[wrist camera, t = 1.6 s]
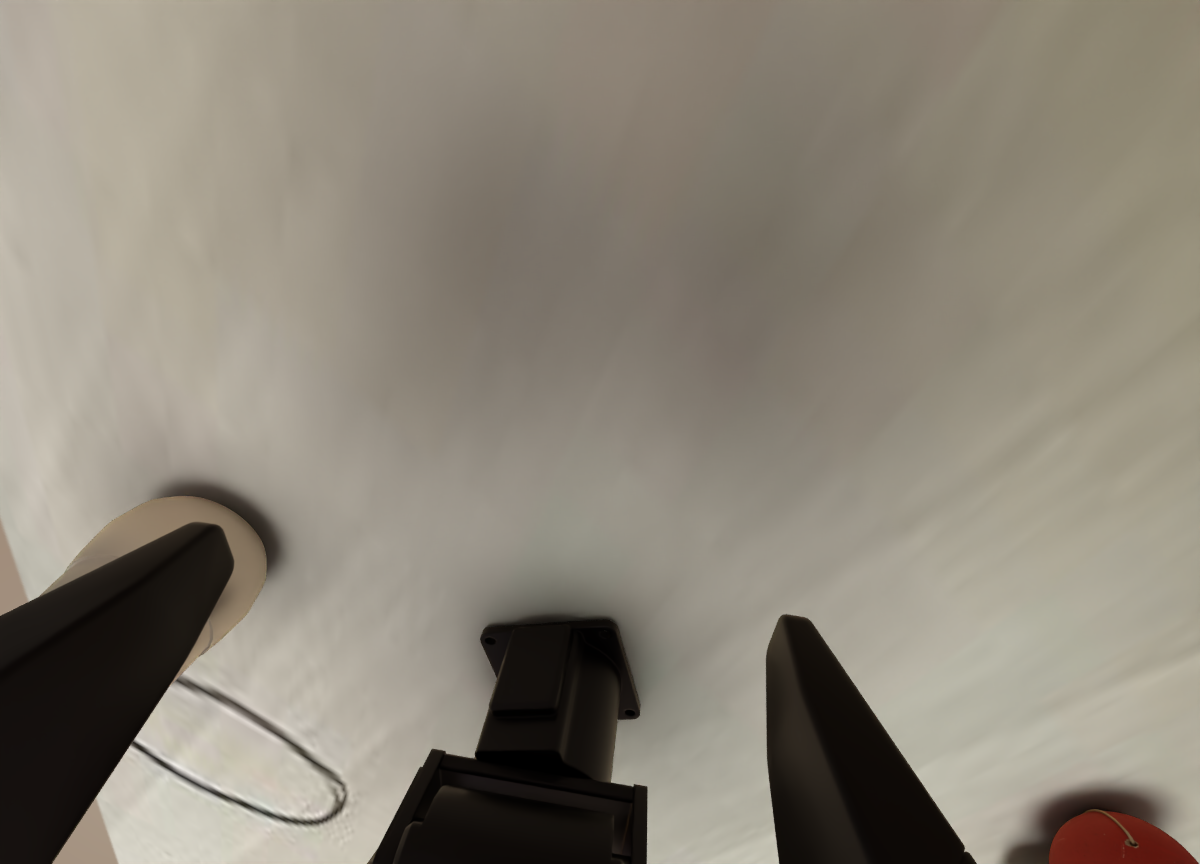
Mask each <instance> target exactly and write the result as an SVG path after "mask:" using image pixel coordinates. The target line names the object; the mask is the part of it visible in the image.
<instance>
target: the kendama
mask: <svg viewBox="0 0 1200 864" xmlns="http://www.w3.org/2000/svg"><path fill="white" fill-rule="evenodd" d="M1049 864H1199V863H1198V862H1197V861H1196V860H1195V859H1194V857H1193V856H1192V855H1191V854H1190V853H1189V852H1188V851H1187V850H1186V849H1185V848H1184V847H1183V846H1182V845H1181V844H1179V843H1178V842H1177V841H1176V840H1175V839H1173V838H1172V837H1171V836H1169V835H1168V834H1167V833H1165V832H1164V831H1162V830H1161V829H1159V828H1157V827H1155V826H1154V825H1152V824H1150V823H1148V822H1146V821H1144V820H1141V819H1139V818H1136V817H1133V816H1130V815H1126V814H1122V813H1118V812H1110V811H1101V810H1097V809H1091V810H1087V811H1086V812H1084V813H1083V814H1081V815H1078V816H1076V817H1074V818H1072V819H1070V820H1069V821H1068V822H1066V823H1065V824H1064V825H1063V826H1062V827H1061V828H1060V829H1059V830H1058V832H1057V833H1056V835H1055V837H1054V839H1053V841H1052V844H1051V848H1050V853H1049Z"/></svg>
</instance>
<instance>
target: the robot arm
mask: <svg viewBox="0 0 1200 864" xmlns="http://www.w3.org/2000/svg"><path fill="white" fill-rule="evenodd" d="M233 570H234V557H233V554H232V552H231V549H230V546H229V543H228V541H227V538H226V535H225V532H224V530H223V529H222V527H220V526H219V525H217V524H211V523H205V522H191V523H188V524H186V525H184V526H182V527H180V528H178V529H176V530H174V531H172V532H170V533H168V534H166V535H164V536H162V537H160V538H158V539H156V540H154V541H151V542H149V543H147V544H145V545H143V546H141V547H139V548H137V549H135V550H133V551H131V552H129V553H127V554H125V555H123V556H121V557H119V558H117V559H115V560H113V561H111V562H109V563H107V564H105V565H103V566H101V567H99V568H97V569H95V570H93V571H91V572H89V573H87V574H84V575H82V576H80V577H78V578H76V579H74V580H72V581H70V582H68V583H66V584H64V585H62V586H60V587H58V588H56V589H54V590H52V591H50V592H48V593H46V594H44V595H42V596H40V597H38V598H36V599H34V600H32V601H30V602H28V603H26V604H24V605H22V606H20V607H18V608H16V609H13V610H12V611H10V612H7V613H5V614H3V615H1V616H0V864H52V863H53V861H54V860H55V858H56V857H57V855H58V854H59V852H60V851H61V849H62V848H63V846H64V845H65V843H66V842H67V840H68V839H69V837H70V836H71V834H72V832H73V831H74V830H75V828H76V826H77V825H78V823H79V822H80V820H81V819H82V818H83V816H84V814H85V813H86V811H87V809H88V808H89V807H90V805H91V804H92V802H93V801H94V799H95V798H96V796H97V795H98V793H99V792H100V790H101V789H102V787H103V786H104V784H105V783H106V781H107V780H108V778H109V777H110V775H111V774H112V772H113V771H114V769H115V768H116V766H117V765H118V763H119V762H120V760H121V759H122V757H123V755H124V754H125V752H126V751H127V749H128V748H129V746H130V745H131V743H132V742H133V740H134V739H135V737H136V736H137V734H138V733H139V731H140V730H141V728H142V727H143V725H144V724H145V722H146V721H147V719H148V718H149V716H150V715H151V713H152V712H153V710H154V709H155V707H156V706H157V704H158V703H159V701H160V700H161V698H162V697H163V695H164V693H165V692H166V690H167V689H168V687H169V686H170V684H171V683H172V681H173V680H174V678H175V677H176V675H177V674H178V672H179V671H180V669H181V667H182V666H183V664H184V663H185V661H186V659H187V658H188V656H189V654H190V652H191V651H192V649H193V647H194V645H195V644H196V642H197V640H198V638H199V636H200V634H201V632H202V630H203V628H204V626H205V625H206V623H207V621H208V619H209V617H210V615H211V613H212V611H213V609H214V608H215V606H216V604H217V602H218V600H219V598H220V596H221V594H222V592H223V590H224V589H225V587H226V585H227V583H228V581H229V579H230V577H231V575H232V573H233ZM604 630H606V631H604ZM480 641H481V644H482V646H483V648H484V650H485V652H486V655H487V657H488V659H489V661H490V664H491V666H492V668H493V670H494V672H495V675H496V677H497V681H496V684H495V687H494V690H493V694H492V697H491V700H490V703H489V709H488V713H487V716H486V719H485V722H484V726H483V729H482V732H481V735H480V738H479V742H478V745H477V748H476V751H475V757H474V758H468V757H462V756H457V755H451V754H446V751H443V750H437V749H432V750H431V752H430V754H429V756H428V758H427V760H426V762H425V763H424V765H423V767H420V768H419V770H418V772H417V774H416V776H415V778H414V780H413V781H412V783H411V785H410V787H409V789H408V791H407V793H406V795H405V797H404V799H403V801H402V803H401V805H400V807H399V809H398V811H397V813H396V814H395V816H394V818H393V820H392V822H391V824H390V826H389V828H388V830H387V832H386V834H385V836H384V838H383V840H382V842H381V844H380V845H379V847H378V849H377V851H376V852H375V853H374V855H373V856H372V858H371V859H370V860H369V862H368V863H367V864H647V786H641V785H636V784H634V786H633V787H632V786H627V785H621V784H615V783H611V776H612V767H613V757H614V748H615V739H616V730H617V721H618V720H626V719H636V718H638V717H639V716H640V702H639V699H638V695H637V692H636V688H635V685H634V682H633V678H632V675H631V671H630V668H629V665H628V661H627V658H626V654H625V651H624V647H623V644H622V641H621V637H620V634H619V630H618V627H617V625H616V624H615V623H614V622H613V621H610V620H589V621H574V622H558V623H542V624H527V625H511V626H495V627H487V628H485V629H484V630H483V632H482V635H481V638H480ZM766 712H767V762H768V773H769V782H770V791H771V799H772V807H773V815H774V824H775V832H776V840H777V849H778V857H779V864H977V863H976V862H975V860H974V859H973V857H972V856H971V855H970V853H968V852H964V850H965V847H964V845H963V843H962V842H961V840H960V839H959V837H958V836H957V834H956V833H955V831H954V830H953V829H952V827H951V826H950V824H949V823H948V821H947V820H946V818H945V817H944V815H943V814H942V812H941V811H940V809H939V808H938V807H937V805H936V804H935V802H934V801H933V799H932V798H931V796H930V795H929V793H928V792H927V790H926V789H925V787H924V786H923V785H922V783H921V782H920V780H919V779H918V777H917V776H916V774H915V773H914V771H913V770H912V768H911V767H910V765H909V764H908V763H907V761H906V760H905V758H904V757H903V755H902V754H901V752H900V751H899V749H898V748H897V746H896V745H895V743H894V742H893V741H892V739H891V738H890V736H889V735H888V733H887V732H886V730H885V729H884V727H883V726H882V724H881V723H880V721H879V720H878V719H877V717H876V716H875V714H874V713H873V711H872V710H871V708H870V707H869V705H868V704H867V702H866V701H865V699H864V698H863V697H862V695H861V694H860V692H859V691H858V689H857V688H856V686H855V685H854V683H853V682H852V680H851V679H850V677H849V676H848V675H847V673H846V672H845V670H844V669H843V667H842V666H841V664H840V663H839V661H838V660H837V658H836V657H835V655H834V654H833V653H832V651H831V650H830V648H829V647H828V645H827V644H826V642H825V641H824V639H823V638H822V636H821V635H820V633H819V632H818V631H817V629H816V628H815V626H814V625H813V623H812V622H811V621H810V620H809V619H807V618H805V617H800V616H793V615H787V614H784V615H782V616H781V617H780V618H779V620H778V622H777V625H776V627H775V630H774V632H773V635H772V638H771V640H770V643H769V645H768V649H767V655H766Z"/></svg>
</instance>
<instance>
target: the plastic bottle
mask: <svg viewBox="0 0 1200 864" xmlns="http://www.w3.org/2000/svg"><path fill="white" fill-rule="evenodd" d="M191 522H205V523H211V524H217V525H219V526H220V527H222V529H223V530H224V532H225V535H226V538H227V541H228V543H229V546H230V549H231V552H232V554H233V557H234V570H233V573H232V575H231V577H230V579H229V581H228V583H227V585H226V587H225V589H224V590H223V592H222V594H221V596H220V598H219V600H218V602H217V604H216V606H215V608H214V609H213V611H212V613H211V615H210V617H209V619H208V621H207V623H206V625H205V626H204V628H203V630H202V632H201V634H200V636H199V638H198V640H197V642H196V644H195V645H194V647H193V649H192V651H191V652H190V654H189V656H188V658H187V659H186V661H185V663H184V664H183V666H182V667H181V669H180V671H179V672H178V674H177V675H176V677H175V678H174V680H173V681H172V683H173V682H174V681H175V680H176V679H177V678H178V677H179V676H180V675H181V674H182V673H183V672H184V671H185V670H186V669H187V668H188V667H189V666H190V665H191V664H192V663H193V662H194V661H195V660H196V659H197V657H199V656H201V655H202V654H204V653H205V652H207V651H208V650H209V649H210V648H212V647H213V646H214V645H215V644H216V643H218V642H219V641H220V640H221V639H222V638H223V637H224V636H225V635H226V634H227V633H228V632H230V631H231V630H232V629H233V628H234V627H235V626H236V625H237V624H238V623H239V622H240V621H241V620H242V619H243V618H244V617H245V616H246V615H247V613H248V612H249V611H250V609H251V607H252V605H253V604H254V602H255V600H256V598H257V596H258V595H259V593H260V591H261V589H262V588H263V585H264V583H265V580H266V572H267V563H266V552H265V548H264V546H263V543H262V541H261V539H260V537H259V536H258V534H257V533H256V531H255V530H254V529H253V528H252V527H251V526H250V525H249V524H248V523H247V522H246V521H245V520H244V519H243V518H241V517H240V516H239V515H238V514H236V513H235V512H233V511H232V510H230V509H228V508H227V507H225V506H223V505H220V504H218V503H216V502H214V501H210V500H207V499H204V498H199V497H194V496H175V497H166V498H159V499H153V500H150V501H148V502H145V503H143V504H141V505H139V506H137V507H135V508H134V509H132V510H130V511H128V512H126V513H125V514H123V515H121V516H119V517H117V518H116V519H114V520H112V521H111V522H110V523H109V524H107V525H106V526H105V527H104V528H103V529H102V530H101V531H100V532H99V533H98V534H97V535H96V536H95V537H94V538H93V539H92V540H91V541H90V542H89V543H88V544H87V545H86V546H85V547H84V548H83V549H82V550H81V551H80V553H79V554H78V555H77V556H76V557H75V559H74V560H73V561H72V562H71V563H70V565H69V566H68V567H67V569H66V571H65V573H64V574H63V575H62V576H60V577H59V578H58V579H57V580H56V581H55V582H54V583H53V584H52V585H51V586H50V587H49V588H48V589H47V590H46V591H44V592H43V593H42V594H41V595H40V596H42V595H44V594H46V593H48V592H50V591H52V590H54V589H56V588H58V587H60V586H62V585H64V584H66V583H68V582H70V581H72V580H74V579H76V578H78V577H80V576H82V575H84V574H87V573H89V572H91V571H93V570H95V569H97V568H99V567H101V566H103V565H105V564H107V563H109V562H111V561H113V560H115V559H117V558H119V557H121V556H123V555H125V554H127V553H129V552H131V551H133V550H135V549H137V548H139V547H141V546H143V545H145V544H147V543H149V542H151V541H154V540H156V539H158V538H160V537H162V536H164V535H166V534H168V533H170V532H172V531H174V530H176V529H178V528H180V527H182V526H184V525H186V524H188V523H191ZM40 596H39V597H40ZM172 683H171V684H172ZM171 684H170V685H171Z"/></svg>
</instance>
